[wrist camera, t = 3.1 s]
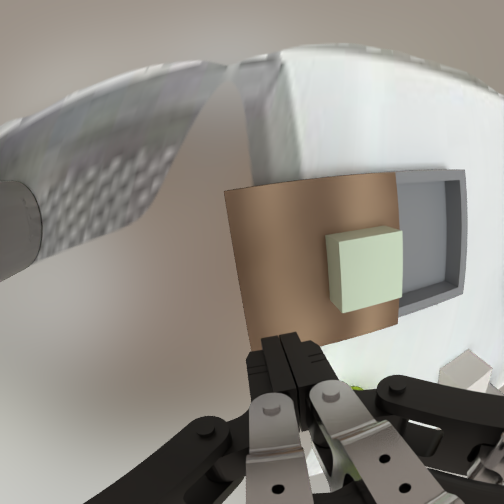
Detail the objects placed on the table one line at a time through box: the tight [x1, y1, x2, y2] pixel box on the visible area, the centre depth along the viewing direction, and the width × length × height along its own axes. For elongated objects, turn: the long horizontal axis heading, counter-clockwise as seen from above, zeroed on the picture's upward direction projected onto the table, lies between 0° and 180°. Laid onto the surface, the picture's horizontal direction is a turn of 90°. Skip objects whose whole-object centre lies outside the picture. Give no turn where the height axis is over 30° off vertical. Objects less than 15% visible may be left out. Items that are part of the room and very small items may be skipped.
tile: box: [325, 226, 403, 313], centre depth 19 cm, size 5×5×2 cm
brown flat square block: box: [224, 172, 400, 351], centre depth 22 cm, size 13×13×4 cm
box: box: [380, 170, 467, 317], centre depth 23 cm, size 10×13×3 cm
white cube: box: [438, 349, 493, 393], centre depth 28 cm, size 6×6×6 cm
